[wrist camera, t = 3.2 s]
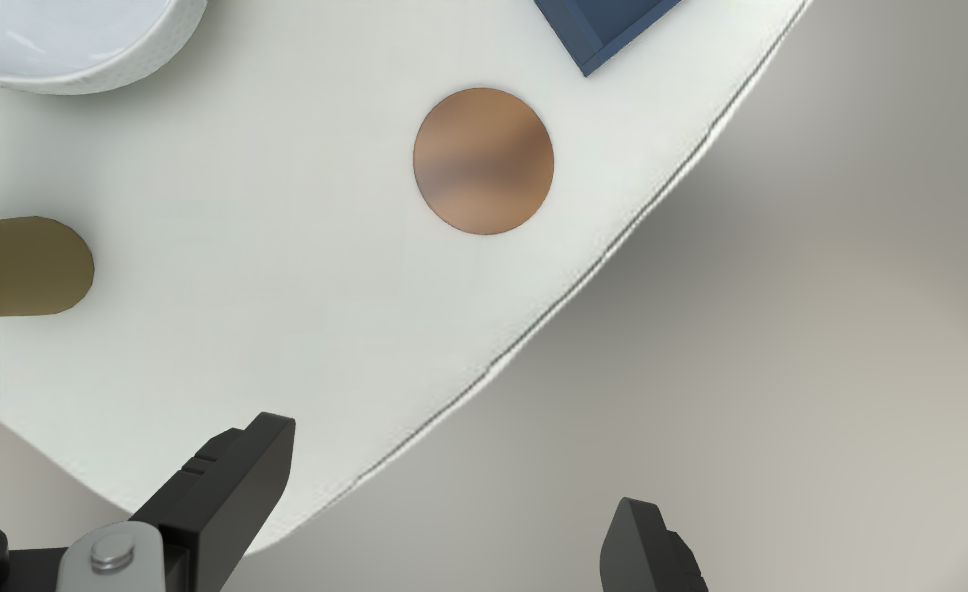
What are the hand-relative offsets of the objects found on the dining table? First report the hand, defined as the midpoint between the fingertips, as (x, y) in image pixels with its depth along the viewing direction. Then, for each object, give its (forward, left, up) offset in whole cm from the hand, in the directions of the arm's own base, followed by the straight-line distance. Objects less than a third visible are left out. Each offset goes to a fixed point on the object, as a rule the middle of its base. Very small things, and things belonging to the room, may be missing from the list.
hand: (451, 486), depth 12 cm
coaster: (-5, +11, -24) cm, 27 cm away
